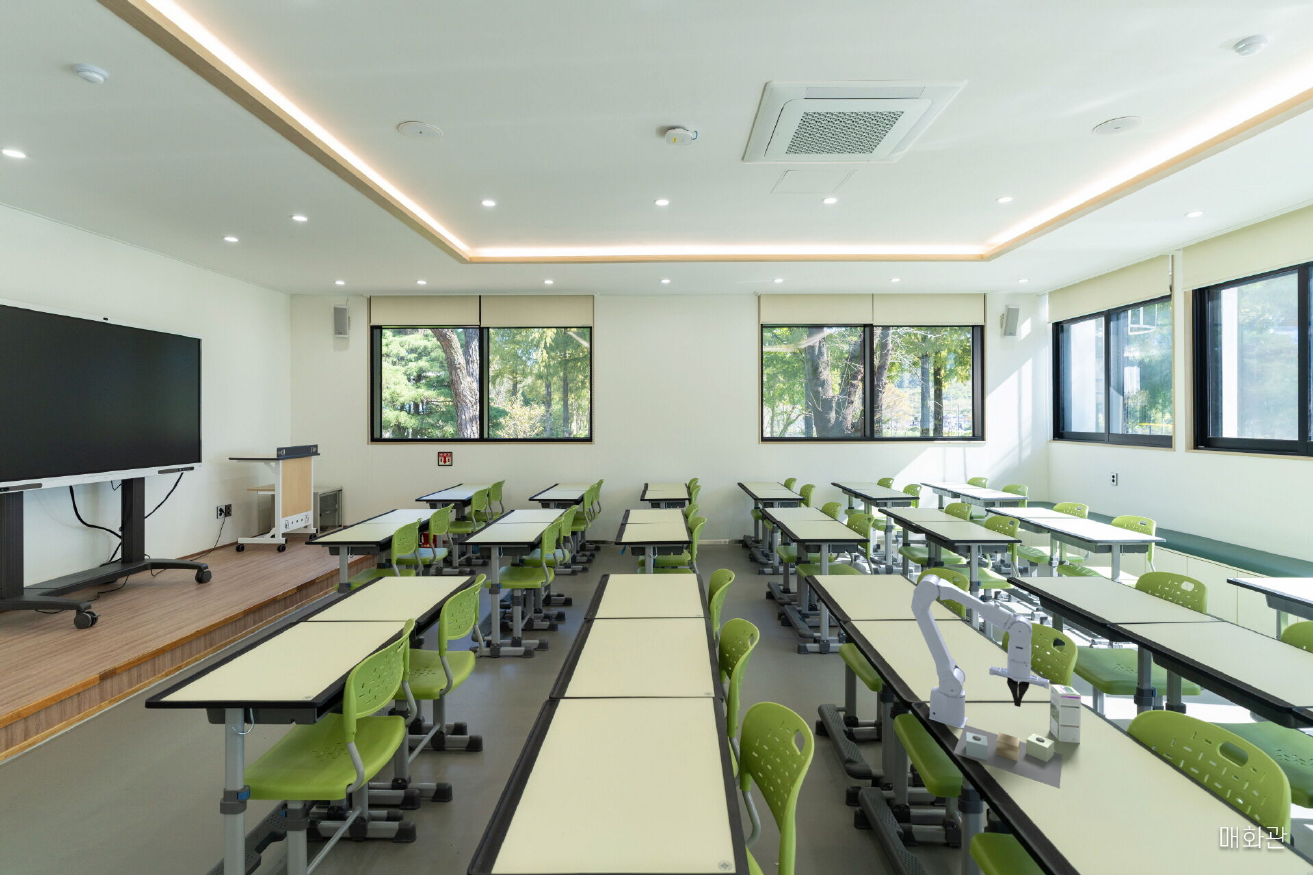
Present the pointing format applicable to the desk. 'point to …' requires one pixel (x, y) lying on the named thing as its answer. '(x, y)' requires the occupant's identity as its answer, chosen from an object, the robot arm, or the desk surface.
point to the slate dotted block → (976, 745)
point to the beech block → (1008, 746)
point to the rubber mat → (1023, 766)
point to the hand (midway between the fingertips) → (1017, 704)
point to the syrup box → (1065, 713)
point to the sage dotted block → (1040, 747)
